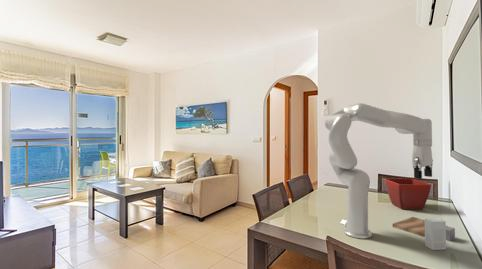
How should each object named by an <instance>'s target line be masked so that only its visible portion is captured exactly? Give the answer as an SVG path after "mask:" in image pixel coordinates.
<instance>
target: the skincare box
mask: <svg viewBox="0 0 482 269" xmlns="http://www.w3.org/2000/svg"><path fill="white" fill-rule="evenodd" d="M424 220H425V237H424V243H425V244H424V247H427V248H428V249H430V250H432V251H439V250H440V251H443V250H447V240H446V226H447V224H446V221H445V220H443V219H441V218H439V217H438V218H437V217H436V218H435V217H434V218H433V217H432V218H430V217H429V218H424Z"/></svg>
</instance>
